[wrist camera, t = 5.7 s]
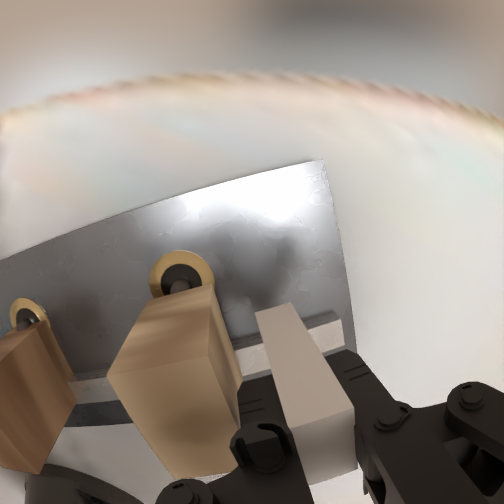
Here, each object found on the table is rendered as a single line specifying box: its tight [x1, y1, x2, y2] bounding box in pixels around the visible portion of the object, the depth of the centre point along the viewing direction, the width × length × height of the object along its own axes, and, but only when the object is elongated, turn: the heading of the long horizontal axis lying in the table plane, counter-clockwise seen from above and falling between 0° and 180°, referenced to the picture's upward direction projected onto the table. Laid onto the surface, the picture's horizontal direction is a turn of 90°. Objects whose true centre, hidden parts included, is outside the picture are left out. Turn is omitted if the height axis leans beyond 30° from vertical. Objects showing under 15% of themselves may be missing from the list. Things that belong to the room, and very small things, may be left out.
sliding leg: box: [106, 278, 243, 479], centre depth 11 cm, size 3×5×7 cm, turn 15°
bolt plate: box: [0, 159, 357, 427], centre depth 15 cm, size 22×12×2 cm, turn 105°
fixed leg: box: [0, 318, 78, 475], centre depth 11 cm, size 3×5×7 cm, turn 14°
